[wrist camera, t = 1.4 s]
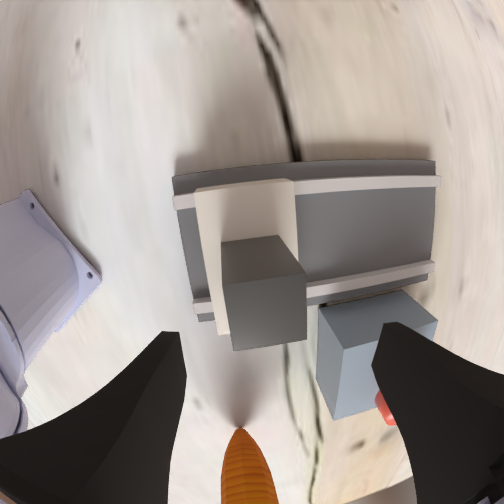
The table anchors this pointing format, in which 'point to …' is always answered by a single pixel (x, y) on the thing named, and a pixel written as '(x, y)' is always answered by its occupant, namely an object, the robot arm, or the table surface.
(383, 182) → the rail board
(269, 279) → the carriage
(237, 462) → the carrot
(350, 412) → the blue-grey block
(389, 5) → the table surface
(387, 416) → the button
